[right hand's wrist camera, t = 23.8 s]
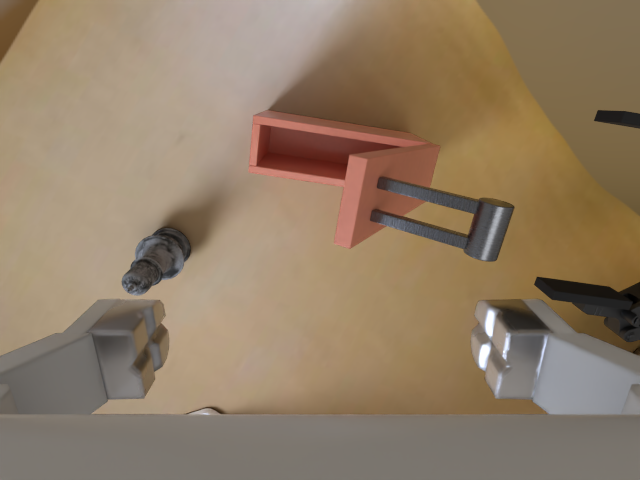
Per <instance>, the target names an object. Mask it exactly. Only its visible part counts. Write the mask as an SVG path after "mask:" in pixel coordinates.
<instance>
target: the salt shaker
mask: <svg viewBox="0 0 640 480" xmlns="http://www.w3.org/2000/svg"><path fill="white" fill-rule="evenodd" d="M189 255H190V244H189V241H188V240H187V238H186V237H185V236H184V235H183V234H182V233H181V232H179V231H177V230H175V229H172V228H164V229H160V230H158V231H156V232H155V233H154V234H153V235H152V236H148V237H146V238H144V239H143V240H142V241H141V242H140V243H139V244H138V246H137V248H136V252H135V257H136V259H135V260H134V261H133V262H132V264H131V268H130V270H129V271H128V272H127V273H126V274H125V275H124V276H123V278H122V286H123V288H124V289H125V291H127V292H128V293H130V294H132V295H142V294H144V293H146V292H147V291H148V290H149V289H150V287H151V286H153V285H156V284H158V283H159V282H160V281H161V280H167V279H171V278H173V277H175V276H177V275H178V274H179V273H180V272H181V270H182V268H183V265H184V262H185V261H186V260H187V259H188V257H189Z"/></svg>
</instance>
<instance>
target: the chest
mask: <svg viewBox="0 0 640 480" xmlns="http://www.w3.org/2000/svg"><path fill="white" fill-rule="evenodd" d="M429 143H430V142H428V141H426V140H424V139H422V138H420V137H418V136H415V135H413V134H411V133H408V132H402V131H396V130H389V129H383V128H377V127H371V126H364V125H358V124H352V123H345V122H339V121H333V120H327V119H320V118H314V117H308V116H302V115H295V114H289V113H283V112H277V111H270V110H267V111H264V112H261V113H258V114H256V115H254V116H253V127H252V138H251V150H250V161H249V173H256V174H262V175H269V176H276V177H282V178H289V179H296V180H302V181H309V182H315V183H322V184H329V185H335V186H342V187H344V183H345V177H346V172H347V166H348V160H349V155H351V154H358V153H365V152H372V151H379V150H386V149H393V148H400V147H407V146H414V145H421V144H429ZM430 144H432V143H430Z"/></svg>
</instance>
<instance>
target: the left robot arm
mask: <svg viewBox="0 0 640 480" xmlns="http://www.w3.org/2000/svg"><path fill="white" fill-rule="evenodd" d="M594 121H598V122H604V123H610V124H616V125H622V126H628V127H634V128H640V114H638V113H632V112H626V111H602V110H598V111H597V114H596V117H595V120H594ZM534 285H535V286H536V287H538V288H539V289H540V290H541V291H542V292H544V293H545V294H546V295H547V296H548V297H550V298H551V299H552V300H559V301H566V302H572V303H573V304H574V305H575V306H576V307H578V308H579V309H580V310H581V311H583V312H584V313H586V314H589V315H597V316H598V315H599V316H604V317H606V318H605V320H604V324H605V325H606V326H607V327H608V328H609V329H611V330H612V331H613V332H615V333H616V334H617V335H618V336H620V337H621V338H622V339H624V340H625V341H626V342H633V341H637V340H640V282H639V283H637V284H635V285H633V286H631V287H629V288H627V289H625V290H622V291H620V292H617V291H615V290H613V289H612V288H610V287H607V286H600V285H593V284H586V283H578V282H571V281H564V280H557V279H550V278H542V277H537V278H536V281H535V284H534ZM633 354H636V355H638V356H640V347H639V348H638V349H637V350H636V351H635V352H634V353H633Z"/></svg>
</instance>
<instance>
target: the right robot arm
mask: <svg viewBox="0 0 640 480" xmlns="http://www.w3.org/2000/svg"><path fill="white" fill-rule="evenodd" d="M165 316H166V315H165V310H164V305H163V303H162V302H161V301H160V300H134V299H122V300H121V299H102V300H97V301H96V302H95V303H94V304H93V305H92V306H91V307H90V308H89V309H88V310H87V311H86V312H85V313H84V314H82V315H81V316H80V317H79V318H78V319H77V320H76V321H75V322H74V323H73V324H72V325H71V326H70V327H69V328H67V329H66V330H65V331H64V332H63V333H55V334H53V335H50V336H48V337H46V338H43V339H41V340H38V341H36V342H33V343H31V344H29V345H26V346H24V347H21V348H19V349H16V350H14V351H12V352H9V353H7V354H4V355H2V356H0V480H640V356H638V355H636V354H633V353H631V352H628V351H626V350H624V349H621V348H619V347H616V346H614V345H611V344H609V343H607V342H604V341H602V340H599V339H597V338H594V337H592V336H590V335H587V334H585V333H577V332H576V331H575V330H574V329H573V328H571V327H570V326H569V325H568V324H567V323H566V322H565V321H564V320H563V319H562V318H561V317H560V316H559V315H558V314H557V313H555V312H554V311H553V310H552V309H551V308H550V307H549V306H548V305H547V304H546V303H545V302H544V301H543V300H540V299H511V300H481V301H478V303H477V305H476V309H475V315H474V316H475V317H476V319H477V320H478V322H479V324H478V325H477V326H476V327H475V328H474V329H473V330H472V334H471V351H472V355H473V358H474V361H475V363H476V364H477V366H478V367H479V368H481V369H482V370H484V371H485V372H486V374H485V380H486V382H487V384H488V386H489V387H490V389H491V391H492V392H493V394H494V396H495V398H497V399H533V400H532V401H533V402H534V403H535V404H537V405H538V406H539V407H541V408H542V409H543V410H545V411H546V412H547V413H549V414H220V413H218V412H217V411H215V410H213V409H211V408H205V409H202V410H199V411H196V412H193V413H190V414H91V413H93V412H94V411H95V410H97V409H98V408H99V407H101V406H102V405H103V404H105V403H106V402H107V401H108V400H107V399H142V398H145V396H146V394H147V393H148V391H149V389H150V387H151V386H152V384H153V382H154V380H155V374H154V372H155V371H156V370H158V369H159V368H161V367H162V366H163V364H164V363H165V361H166V359H167V355H168V350H169V334H168V330H167V329H166V328H165V327H164V326H163V325H162V324H161V322H162V320H163V319H164V317H165Z"/></svg>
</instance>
